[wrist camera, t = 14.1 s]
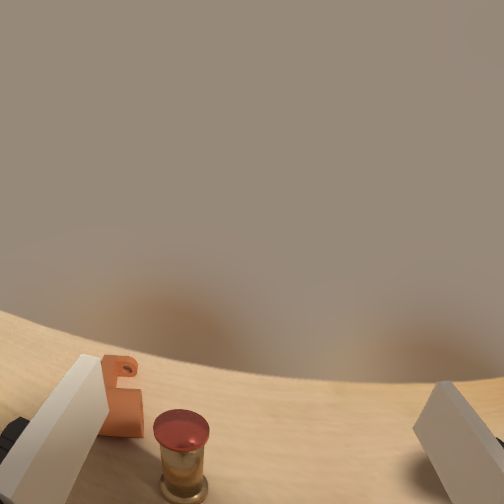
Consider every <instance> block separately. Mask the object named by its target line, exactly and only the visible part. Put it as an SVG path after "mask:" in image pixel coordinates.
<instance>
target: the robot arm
mask: <svg viewBox="0 0 504 504" xmlns="http://www.w3.org/2000/svg"><path fill="white" fill-rule="evenodd" d="M108 413H109V407H108V402H107V397H106V391H105V386H104V380H103V374H102V367H101V361H100V358H98V357H94V356H90V355H86V354H82V355H81V356H80V357H79V358H78V360H77V361H76V362H75V363H74V365H73V366H72V367H71V368H70V370H69V371H68V372H67V373H66V375H65V376H64V377H63V379H62V380H61V381H60V382H59V384H58V385H57V386H56V388H55V389H54V390H53V392H52V393H51V394H50V395H49V397H48V398H47V399H46V401H45V402H44V403H43V405H42V406H41V407H40V409H39V410H38V412H37V413H36V414H35V416H34V417H33V418H32V420H31V421H29V420H27V419H24V418H22V417H19V418H17V419H16V420H14V421H12V422H11V423H9V424H8V425H7V427H6V428H5V429H4V430H3V432H2V433H1V436H0V504H65V503H66V501H67V499H68V496H69V494H70V492H71V490H72V487H73V485H74V483H75V481H76V479H77V477H78V474H79V472H80V470H81V468H82V466H83V464H84V462H85V460H86V457H87V455H88V453H89V451H90V449H91V447H92V445H93V443H94V441H95V439H96V437H97V435H98V433H99V431H100V429H101V427H102V425H103V423H104V421H105V419H106V417H107V415H108ZM412 429H413V430H414V432H415V434H416V436H417V438H418V439H419V441H420V443H421V445H422V447H423V448H424V450H425V452H426V454H427V456H428V458H429V460H430V461H431V463H432V465H433V467H434V469H435V471H436V473H437V475H438V477H439V479H440V480H441V482H442V484H443V486H444V488H445V490H446V492H447V494H448V496H449V498H450V500H451V502H452V504H504V442H502V441H501V440H500V439H498V438H497V437H496V438H495V436H494V435H493V434H492V433H491V431H490V430H489V429H488V427H487V426H486V425H485V423H484V422H483V421H482V420H481V418H480V417H479V416H478V414H477V413H476V412H475V411H474V409H473V408H472V407H471V406H470V404H469V403H468V402H467V401H466V399H465V398H464V397H463V396H462V394H461V393H460V392H459V391H458V390H457V388H456V387H455V386H454V385H453V383H452V382H451V381H450V380H449V381H440V382H437V383H436V385H435V387H434V389H433V391H432V393H431V395H430V397H429V399H428V401H427V403H426V405H425V407H424V409H423V410H422V412H421V414H420V416H419V418H418V420H417V421H416V423H415V425H414V427H413V428H412Z"/></svg>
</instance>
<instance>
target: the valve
mask: <svg viewBox="0 0 504 504" xmlns="http://www.w3.org/2000/svg"><path fill="white" fill-rule="evenodd" d="M153 429H154V436H155V438H156V440H157V441H158V443H159V444H160V450H161V458H162V466H163V473H164V474H163V475H162V477H161V479H160V487H161V492H162V495H163V496H164V498H165V499H166V500H167V501H168V502H170V503H172V504H200V503H202V502H203V501H204V500H205V498H206V497H207V493H208V482H207V480H206V478H205V476H204V475H203V458H204V445H205V444H206V442H207V441H208V438H209V425H208V423H207V421H206V420H205V419H204V418H203V417H202V416H201V415H199V414H197V413H195V412H193V411H189V410H183V409H175V410H169V411H166V412H164V413H162V414H161V415H159V416H158V417H157V418H156V420H155V422H154V425H153Z"/></svg>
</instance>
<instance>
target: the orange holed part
mask: <svg viewBox="0 0 504 504" xmlns="http://www.w3.org/2000/svg"><path fill="white" fill-rule="evenodd" d="M124 366H129V367H131V368H125V367H124ZM101 367H102V374H103V380H104V386H105V391H106V397H107V402H108V407H109V413H108V415H107V417H106V419H105V421H104V423H103V425H102V427H101V429H100V431H99V433H98V435H106V436H119V437H137V438H143V437H144V419H143V404H142V394H141V389H123V388H116V385H117V377H118V376H124V377H133V376H135V375H136V374H137V368H138V364H137V361H136V360H135V359H134V358H132V357H129V356H116V355H104V357H103V359H102V361H101Z"/></svg>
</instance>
